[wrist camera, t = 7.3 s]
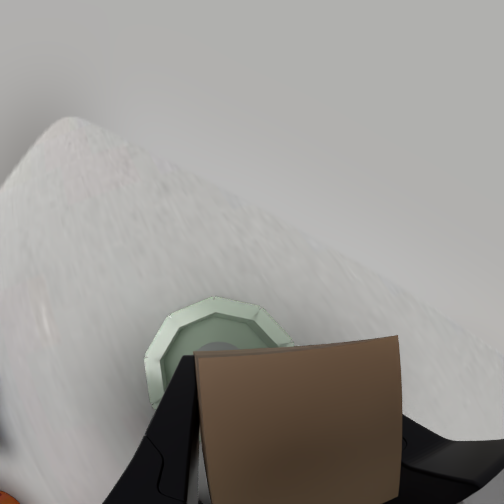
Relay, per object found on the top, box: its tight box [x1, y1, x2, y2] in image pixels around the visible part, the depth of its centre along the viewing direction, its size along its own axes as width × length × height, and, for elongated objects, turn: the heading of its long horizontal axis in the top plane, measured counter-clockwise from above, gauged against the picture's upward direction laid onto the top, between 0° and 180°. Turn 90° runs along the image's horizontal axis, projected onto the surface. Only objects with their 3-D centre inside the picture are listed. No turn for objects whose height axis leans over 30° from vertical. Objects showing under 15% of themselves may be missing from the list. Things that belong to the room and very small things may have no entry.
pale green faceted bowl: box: [144, 296, 294, 442], centre depth 19 cm, size 10×10×4 cm
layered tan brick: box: [193, 335, 402, 504], centre depth 9 cm, size 4×4×12 cm
